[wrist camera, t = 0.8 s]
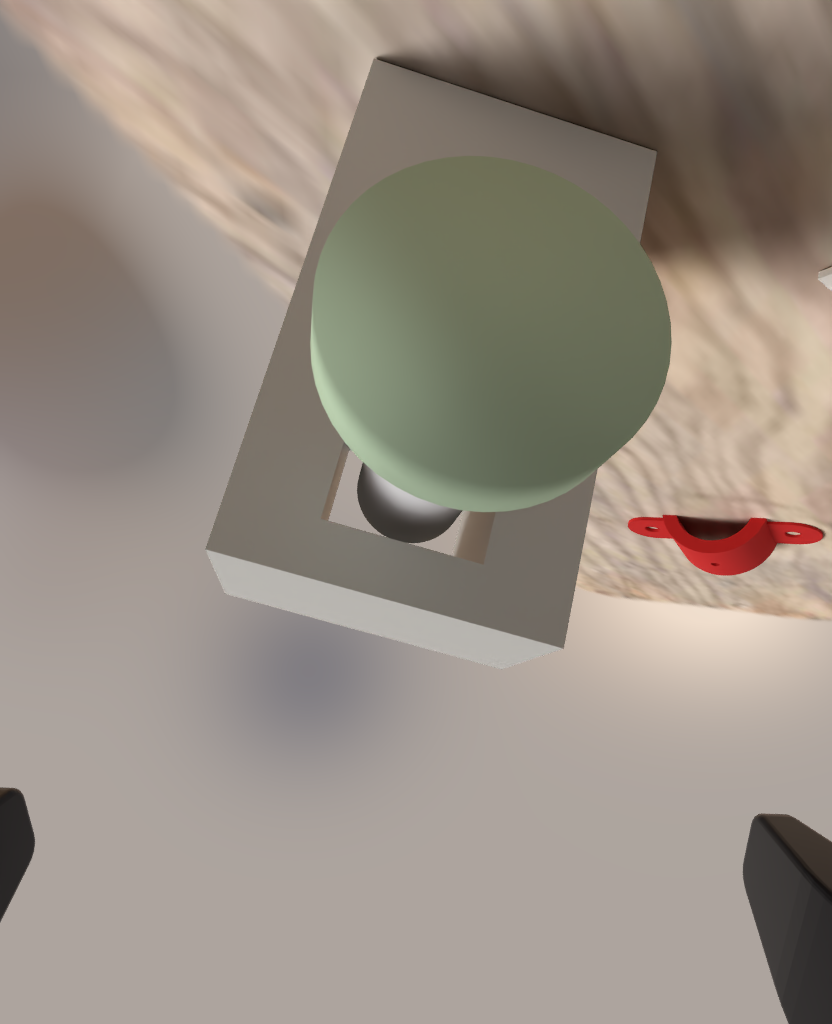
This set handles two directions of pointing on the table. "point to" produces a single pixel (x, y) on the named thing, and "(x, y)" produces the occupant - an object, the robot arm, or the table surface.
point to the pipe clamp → (728, 542)
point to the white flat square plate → (826, 277)
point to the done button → (482, 340)
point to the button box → (322, 452)
